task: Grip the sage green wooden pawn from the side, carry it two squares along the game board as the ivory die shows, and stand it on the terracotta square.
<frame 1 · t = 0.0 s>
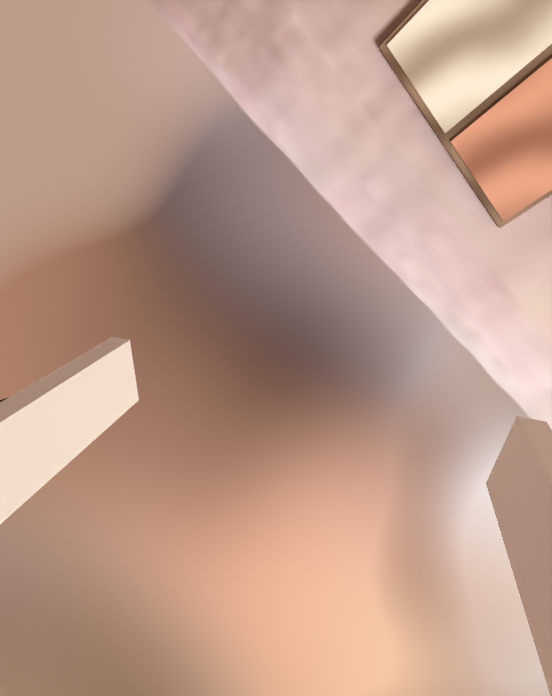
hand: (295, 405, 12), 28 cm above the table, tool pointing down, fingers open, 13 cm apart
board: (513, 82, 28), on the table
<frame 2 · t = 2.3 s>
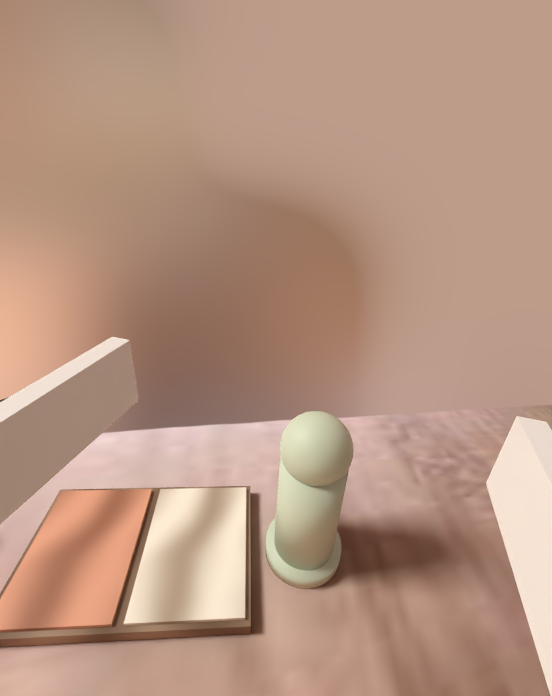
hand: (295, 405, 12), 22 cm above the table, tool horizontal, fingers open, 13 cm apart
board: (142, 554, 29), on the table
pawn: (302, 549, 31), on the table
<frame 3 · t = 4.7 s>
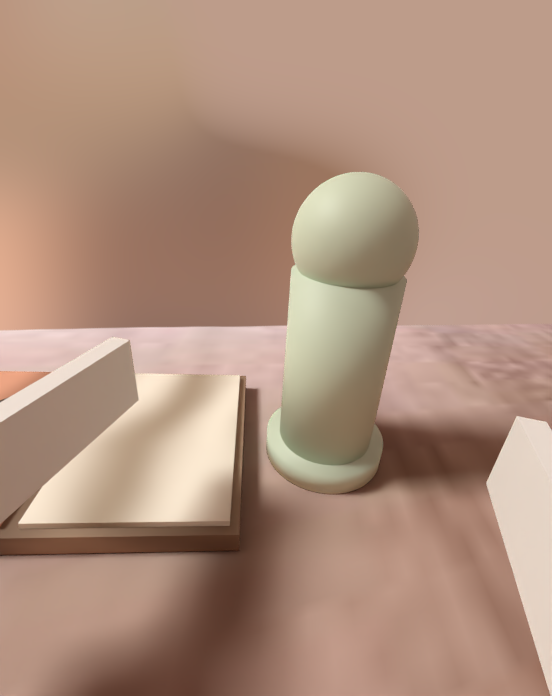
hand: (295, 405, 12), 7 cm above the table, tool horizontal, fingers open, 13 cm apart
board: (77, 447, 19), on the table
pawn: (321, 447, 20), on the table
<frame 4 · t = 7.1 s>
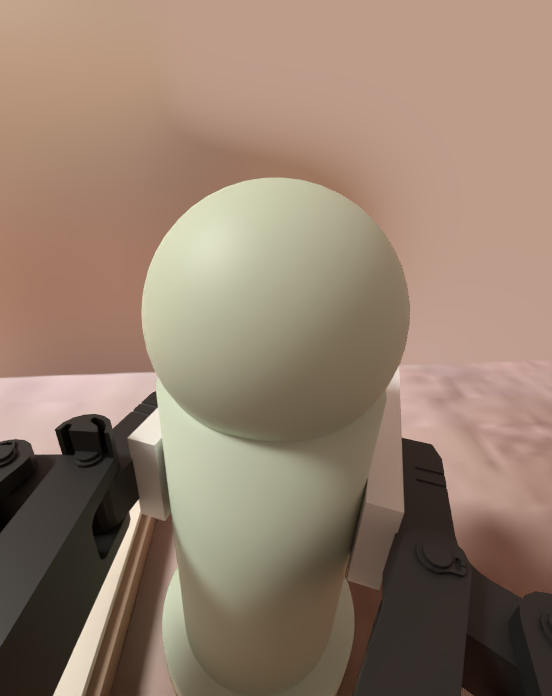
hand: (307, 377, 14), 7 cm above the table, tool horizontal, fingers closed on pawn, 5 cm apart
pawn: (258, 617, 13), on the table, touching gripper
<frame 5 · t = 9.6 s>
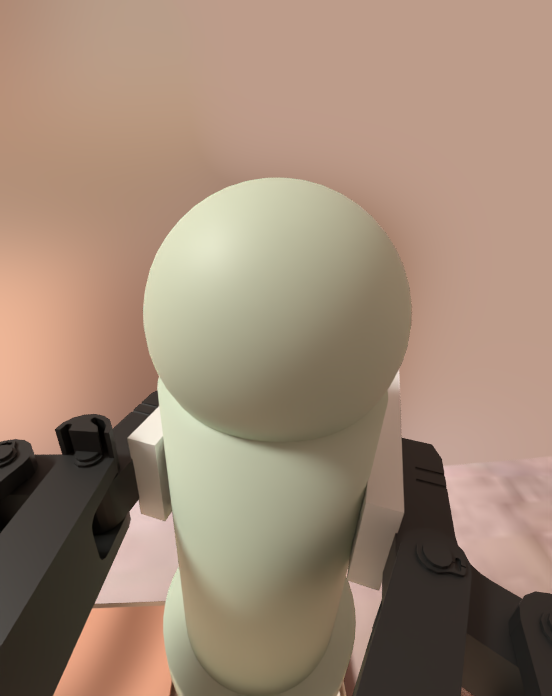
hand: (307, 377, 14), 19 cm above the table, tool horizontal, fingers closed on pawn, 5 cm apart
pawn: (259, 617, 13), point 12 cm above the table, touching gripper
when the fingers open (9 cm above the table, at t = 12.2 s): pawn stays where it is, resting on board.
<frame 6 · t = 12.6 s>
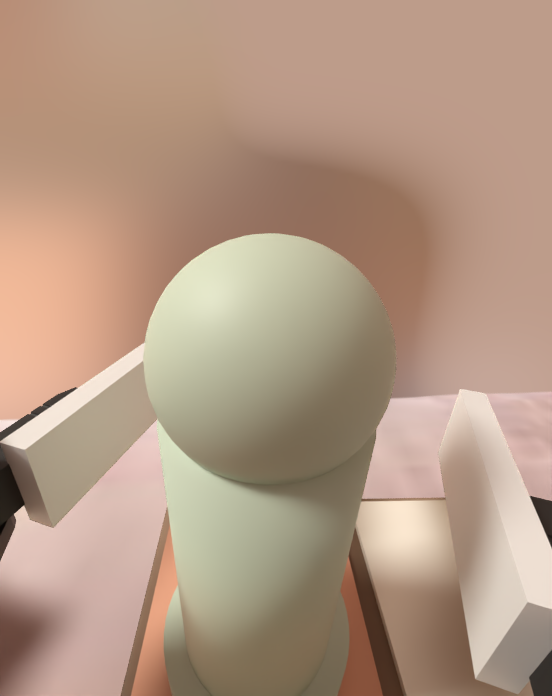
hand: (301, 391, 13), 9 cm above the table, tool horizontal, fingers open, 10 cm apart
board: (370, 643, 14), on the table
pawn: (257, 633, 13), point 1 cm above the table, touching board
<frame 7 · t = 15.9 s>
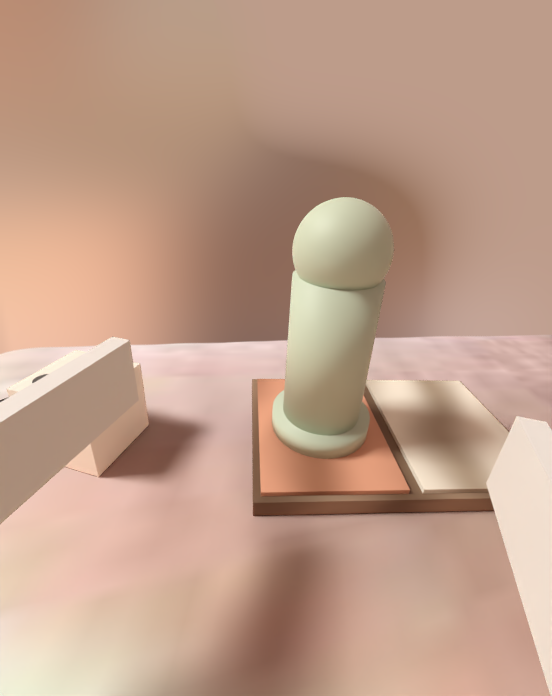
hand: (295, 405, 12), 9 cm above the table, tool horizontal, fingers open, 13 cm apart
board: (379, 438, 25), on the table
pawn: (318, 423, 24), point 1 cm above the table, touching board
die: (93, 439, 23), on the table
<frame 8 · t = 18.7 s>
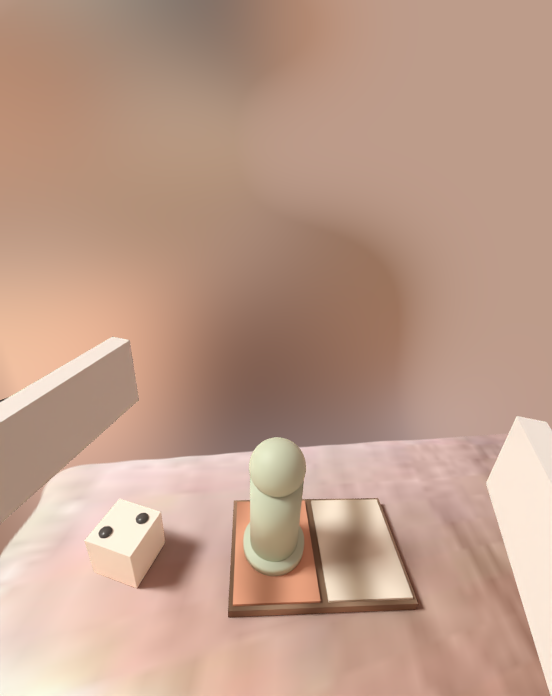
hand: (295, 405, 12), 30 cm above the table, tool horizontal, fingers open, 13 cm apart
board: (314, 551, 39), on the table
pawn: (273, 545, 38), point 1 cm above the table, touching board
die: (131, 556, 37), on the table
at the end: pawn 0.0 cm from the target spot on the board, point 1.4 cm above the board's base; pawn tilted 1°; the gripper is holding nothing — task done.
